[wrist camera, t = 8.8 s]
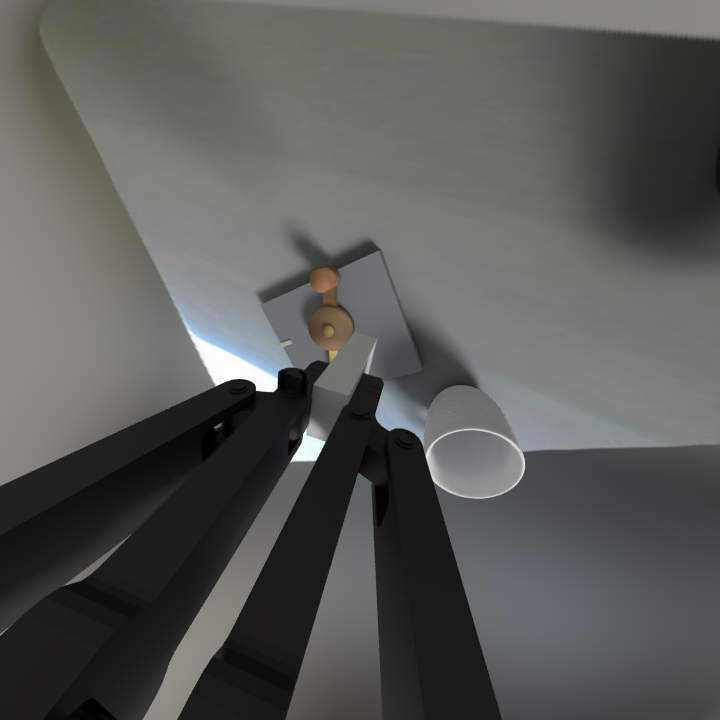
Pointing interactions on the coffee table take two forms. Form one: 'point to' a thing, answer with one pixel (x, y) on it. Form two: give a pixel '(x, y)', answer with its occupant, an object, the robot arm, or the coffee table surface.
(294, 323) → the board
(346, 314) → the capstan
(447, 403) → the mug
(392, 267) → the coffee table surface
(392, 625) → the robot arm
